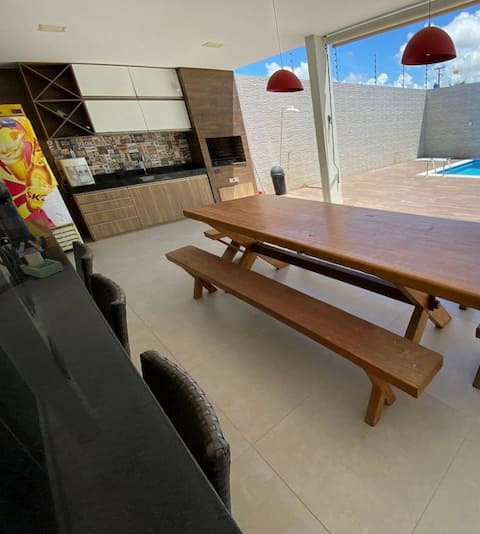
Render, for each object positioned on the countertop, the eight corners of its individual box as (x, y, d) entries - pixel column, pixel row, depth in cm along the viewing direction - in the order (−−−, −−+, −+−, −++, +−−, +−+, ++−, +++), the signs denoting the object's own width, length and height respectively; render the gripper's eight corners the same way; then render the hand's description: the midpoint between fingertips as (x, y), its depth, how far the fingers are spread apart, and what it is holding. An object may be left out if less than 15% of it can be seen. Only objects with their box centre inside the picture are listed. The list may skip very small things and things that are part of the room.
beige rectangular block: (35, 274, 138) (25, 255, 134) (29, 272, 140) (19, 254, 136) (51, 268, 142) (41, 251, 138) (45, 267, 144) (35, 249, 140)
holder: (41, 278, 133) (37, 270, 131) (24, 273, 139) (19, 265, 138) (64, 270, 140) (60, 262, 138) (47, 265, 146) (43, 258, 144)
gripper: (31, 220, 139) (50, 254, 146) (-13, 231, 127) (10, 267, 135) (40, 222, 136) (58, 256, 143) (-5, 232, 124) (18, 269, 132)
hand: (35, 261), depth 139 cm, fingers closed on beige rectangular block, 5 cm apart
